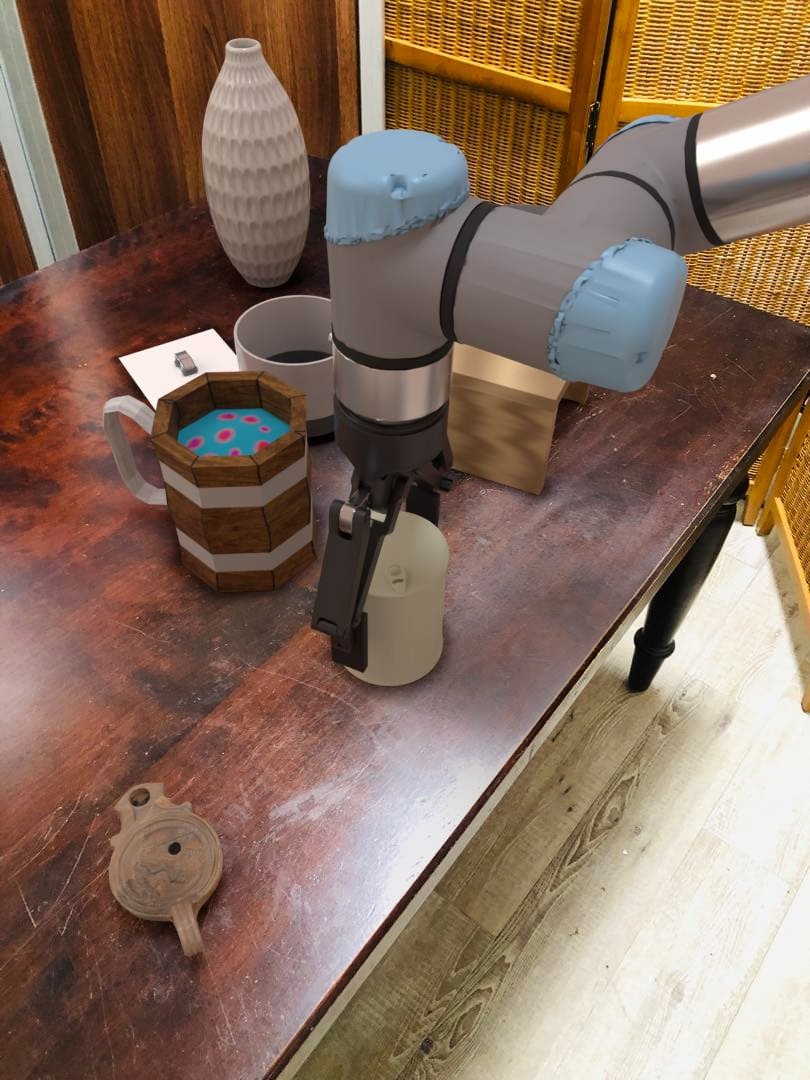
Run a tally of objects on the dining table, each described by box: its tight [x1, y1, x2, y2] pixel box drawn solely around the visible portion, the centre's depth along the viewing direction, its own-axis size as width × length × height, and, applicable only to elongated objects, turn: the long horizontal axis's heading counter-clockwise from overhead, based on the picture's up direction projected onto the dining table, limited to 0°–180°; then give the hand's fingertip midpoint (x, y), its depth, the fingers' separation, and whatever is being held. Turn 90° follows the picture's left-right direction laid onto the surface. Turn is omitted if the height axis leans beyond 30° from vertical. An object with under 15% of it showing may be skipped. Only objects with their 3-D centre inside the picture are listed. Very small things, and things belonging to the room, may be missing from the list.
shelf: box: [447, 342, 592, 496], centre depth 92 cm, size 16×18×12 cm
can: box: [343, 510, 451, 687], centre depth 71 cm, size 9×9×12 cm
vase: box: [201, 37, 311, 289], centre depth 107 cm, size 13×13×28 cm
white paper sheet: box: [118, 328, 239, 411], centre depth 102 cm, size 12×12×2 cm
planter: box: [233, 294, 335, 439], centre depth 94 cm, size 13×13×10 cm
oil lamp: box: [108, 782, 224, 958], centre depth 59 cm, size 13×8×5 cm, turn 25°
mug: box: [101, 371, 318, 593], centre depth 79 cm, size 20×14×15 cm
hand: (387, 601), depth 72 cm, fingers open, 13 cm apart
